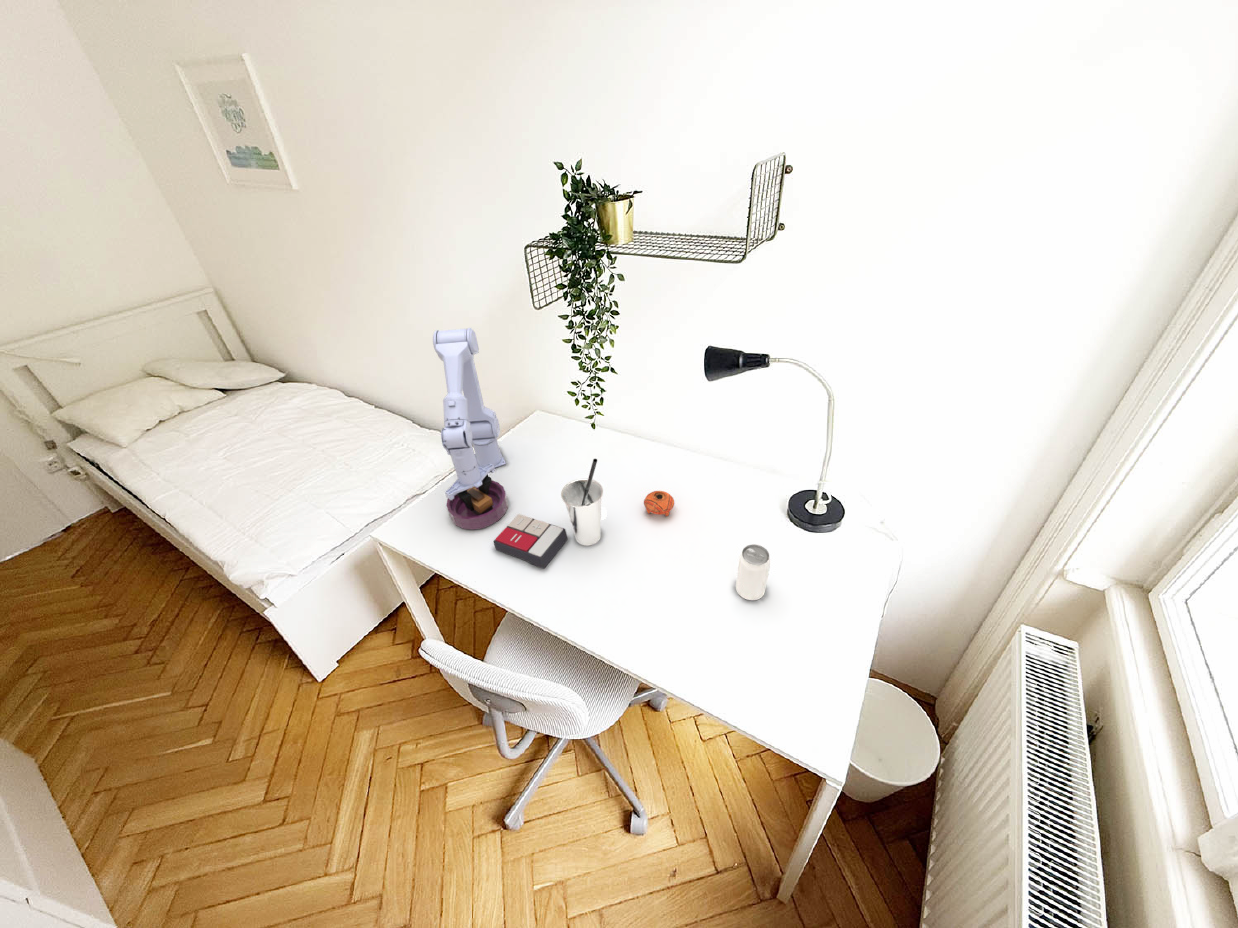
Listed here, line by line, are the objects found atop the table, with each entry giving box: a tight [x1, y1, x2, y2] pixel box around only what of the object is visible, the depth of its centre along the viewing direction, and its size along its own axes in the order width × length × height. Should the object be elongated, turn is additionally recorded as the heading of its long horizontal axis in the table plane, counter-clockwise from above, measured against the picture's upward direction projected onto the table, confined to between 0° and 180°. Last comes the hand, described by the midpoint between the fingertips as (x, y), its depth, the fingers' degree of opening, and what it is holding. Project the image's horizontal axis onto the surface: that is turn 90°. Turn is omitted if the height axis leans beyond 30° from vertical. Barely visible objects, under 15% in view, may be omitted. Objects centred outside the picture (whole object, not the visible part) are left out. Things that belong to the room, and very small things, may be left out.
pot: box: [643, 490, 675, 517], centre depth 139 cm, size 8×8×7 cm
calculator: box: [493, 513, 568, 569], centre depth 133 cm, size 11×4×15 cm
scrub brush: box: [465, 487, 493, 516], centre depth 143 cm, size 8×4×6 cm, turn 50°
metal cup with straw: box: [560, 458, 604, 547], centre depth 125 cm, size 11×11×30 cm
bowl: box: [446, 480, 509, 530], centre depth 144 cm, size 16×16×4 cm
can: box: [735, 543, 771, 601], centre depth 115 cm, size 6×6×12 cm
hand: (477, 504), depth 143 cm, fingers closed on scrub brush, 4 cm apart
